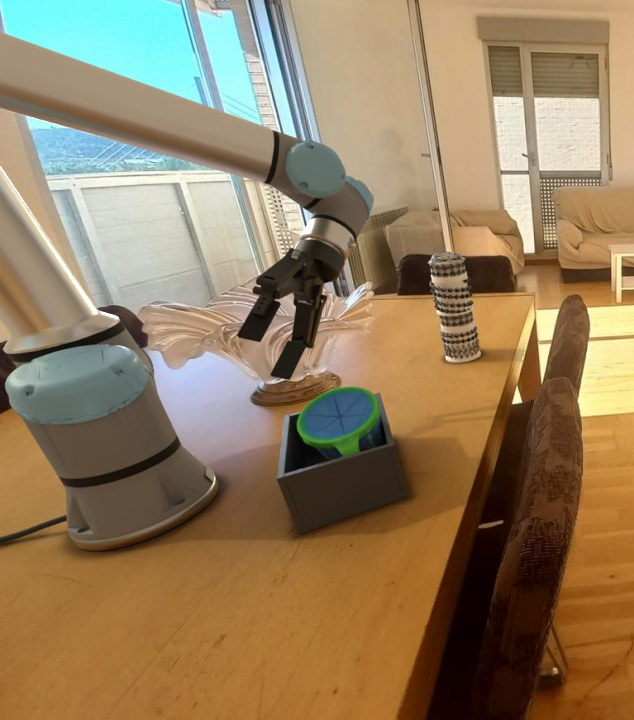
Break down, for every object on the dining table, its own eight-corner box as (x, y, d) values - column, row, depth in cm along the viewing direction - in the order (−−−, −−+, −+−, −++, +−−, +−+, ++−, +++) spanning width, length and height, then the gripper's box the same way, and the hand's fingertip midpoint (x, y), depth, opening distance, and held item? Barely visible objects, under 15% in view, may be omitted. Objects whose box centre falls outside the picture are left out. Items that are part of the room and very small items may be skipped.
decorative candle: (466, 346, 122) (449, 248, 112) (490, 353, 117) (475, 251, 107) (435, 358, 115) (415, 255, 105) (460, 366, 111) (441, 259, 101)
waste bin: (298, 535, 62) (276, 479, 58) (301, 463, 77) (283, 415, 73) (408, 497, 68) (394, 444, 65) (391, 437, 83) (379, 392, 79)
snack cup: (404, 481, 71) (383, 440, 64) (326, 508, 68) (296, 468, 61) (390, 409, 81) (371, 367, 74) (322, 429, 78) (295, 387, 71)
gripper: (329, 207, 72) (264, 325, 62) (358, 296, 93) (314, 394, 83) (274, 192, 70) (198, 311, 60) (317, 286, 91) (266, 385, 81)
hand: (265, 359), depth 71 cm, fingers open, 13 cm apart
